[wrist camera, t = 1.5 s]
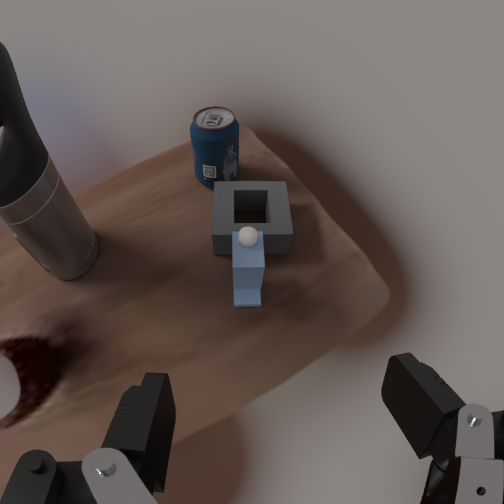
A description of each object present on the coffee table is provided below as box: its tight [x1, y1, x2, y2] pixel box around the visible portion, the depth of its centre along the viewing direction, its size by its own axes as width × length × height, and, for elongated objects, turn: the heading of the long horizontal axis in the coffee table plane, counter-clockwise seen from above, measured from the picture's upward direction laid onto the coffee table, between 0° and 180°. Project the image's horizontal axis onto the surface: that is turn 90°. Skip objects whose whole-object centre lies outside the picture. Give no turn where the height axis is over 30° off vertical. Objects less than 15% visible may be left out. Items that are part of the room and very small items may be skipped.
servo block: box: [232, 226, 265, 307], centre depth 33 cm, size 8×3×12 cm, turn 2°
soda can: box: [190, 106, 239, 189], centre depth 43 cm, size 7×7×12 cm
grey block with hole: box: [212, 181, 293, 255], centre depth 41 cm, size 10×9×5 cm
